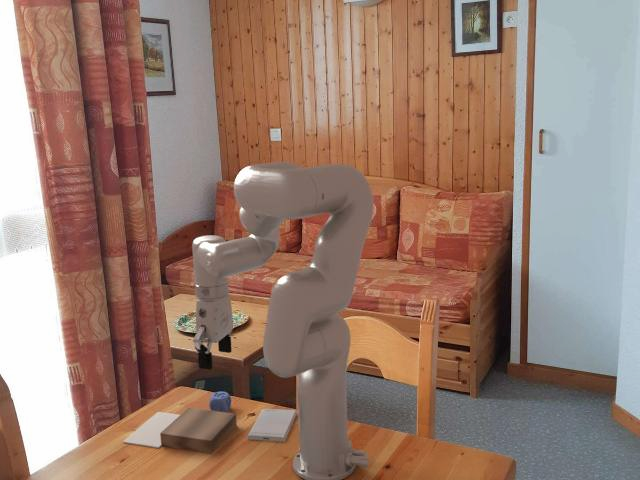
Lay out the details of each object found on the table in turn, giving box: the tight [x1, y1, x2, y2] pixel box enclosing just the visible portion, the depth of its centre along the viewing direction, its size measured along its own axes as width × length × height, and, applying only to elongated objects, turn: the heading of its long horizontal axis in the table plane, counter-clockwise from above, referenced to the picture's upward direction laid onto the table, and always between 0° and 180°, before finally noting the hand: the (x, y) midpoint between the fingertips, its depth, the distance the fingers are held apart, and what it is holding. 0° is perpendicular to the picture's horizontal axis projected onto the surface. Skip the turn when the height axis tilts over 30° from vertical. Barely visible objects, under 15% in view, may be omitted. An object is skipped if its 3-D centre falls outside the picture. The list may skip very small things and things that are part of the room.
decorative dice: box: [208, 391, 232, 413], centre depth 152 cm, size 4×4×4 cm
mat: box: [122, 411, 181, 449], centre depth 144 cm, size 9×14×1 cm, turn 162°
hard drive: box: [247, 408, 298, 443], centre depth 144 cm, size 2×8×12 cm
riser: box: [160, 407, 238, 455], centre depth 140 cm, size 12×12×3 cm
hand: (215, 359), depth 150 cm, fingers open, 9 cm apart
